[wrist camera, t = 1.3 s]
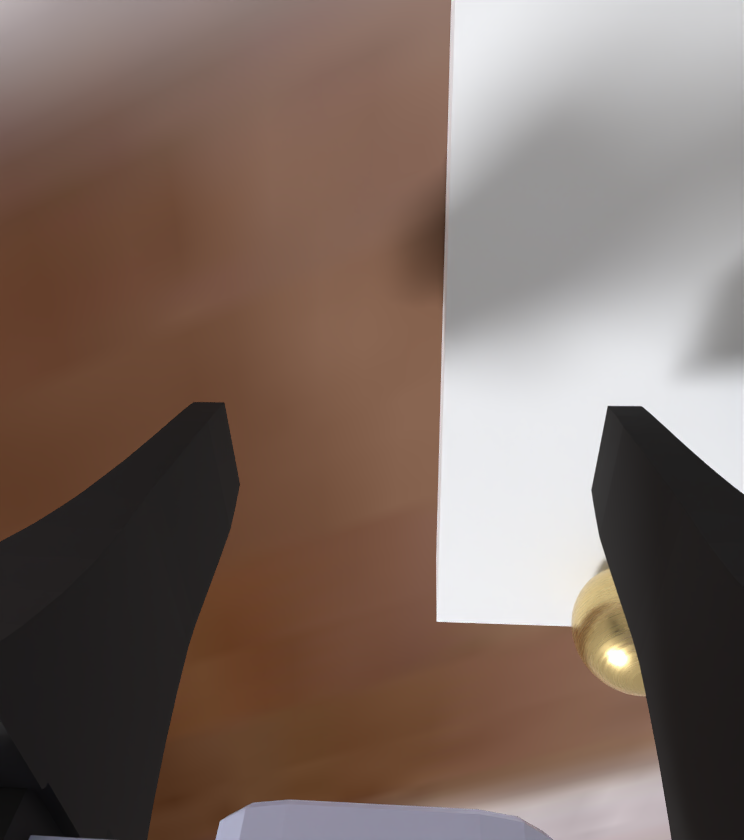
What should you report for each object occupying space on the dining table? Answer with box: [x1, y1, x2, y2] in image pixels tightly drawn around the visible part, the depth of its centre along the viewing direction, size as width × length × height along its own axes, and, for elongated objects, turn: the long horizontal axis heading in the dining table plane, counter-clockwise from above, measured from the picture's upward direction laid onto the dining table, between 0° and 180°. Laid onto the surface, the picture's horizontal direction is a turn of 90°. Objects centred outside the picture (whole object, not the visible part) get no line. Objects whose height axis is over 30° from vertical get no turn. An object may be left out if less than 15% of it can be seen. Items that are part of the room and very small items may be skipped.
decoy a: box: [571, 568, 646, 696], centre depth 17 cm, size 3×3×3 cm
